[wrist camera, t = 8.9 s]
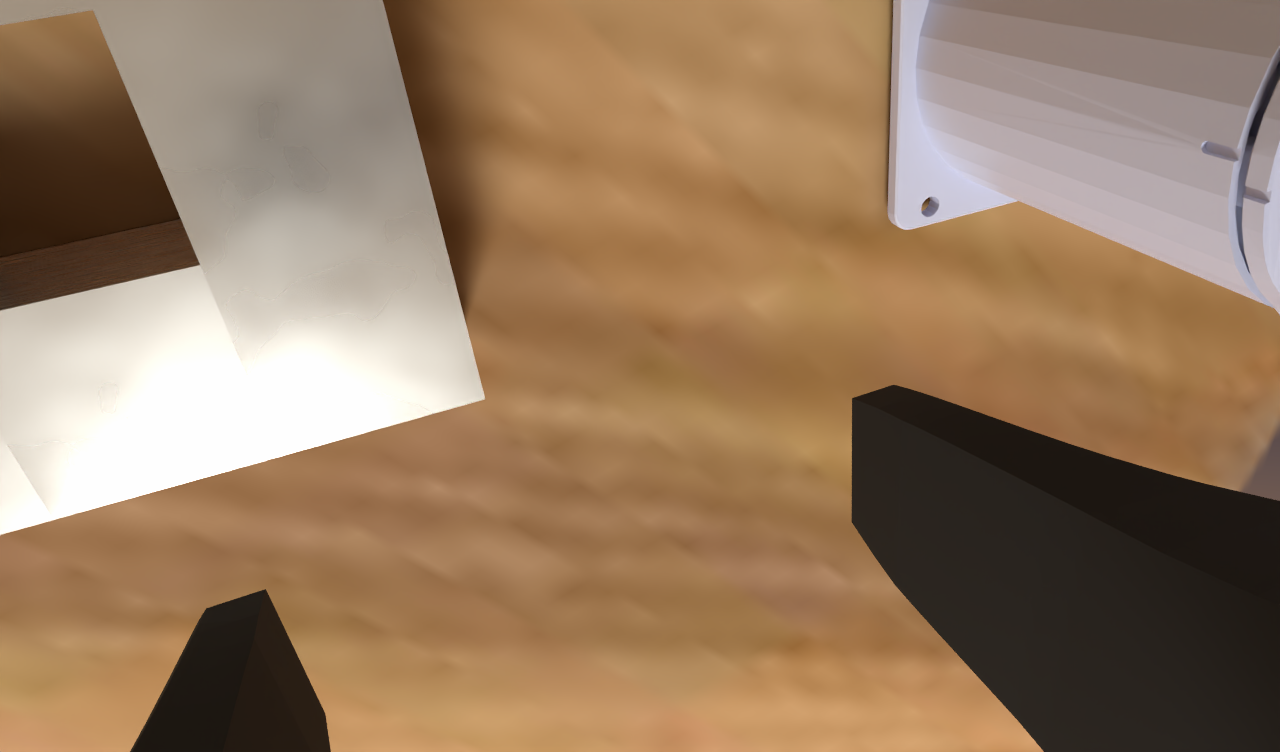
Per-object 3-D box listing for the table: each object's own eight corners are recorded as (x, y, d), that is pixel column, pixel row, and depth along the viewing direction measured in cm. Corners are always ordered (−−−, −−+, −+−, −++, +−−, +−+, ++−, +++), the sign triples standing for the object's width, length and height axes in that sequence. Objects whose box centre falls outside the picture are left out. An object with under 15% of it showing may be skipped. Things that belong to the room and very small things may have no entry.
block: (290, -323, 14) (286, -373, 11) (462, 336, 20) (485, 399, 17) (-672, -239, 11) (-954, -278, 9) (-129, 491, 17) (-201, 591, 15)
